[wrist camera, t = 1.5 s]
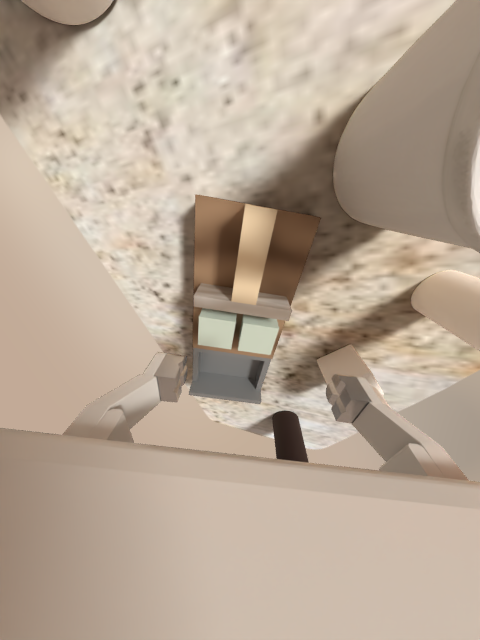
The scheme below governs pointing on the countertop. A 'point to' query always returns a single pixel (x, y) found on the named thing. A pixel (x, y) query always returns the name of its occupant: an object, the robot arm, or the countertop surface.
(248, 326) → the tile
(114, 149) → the countertop surface
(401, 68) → the utensil holder
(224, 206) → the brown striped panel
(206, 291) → the scraper
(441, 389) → the countertop surface
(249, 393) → the box
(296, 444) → the vinegar
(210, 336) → the tile
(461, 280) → the cylindrical container
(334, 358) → the medicine bottle
